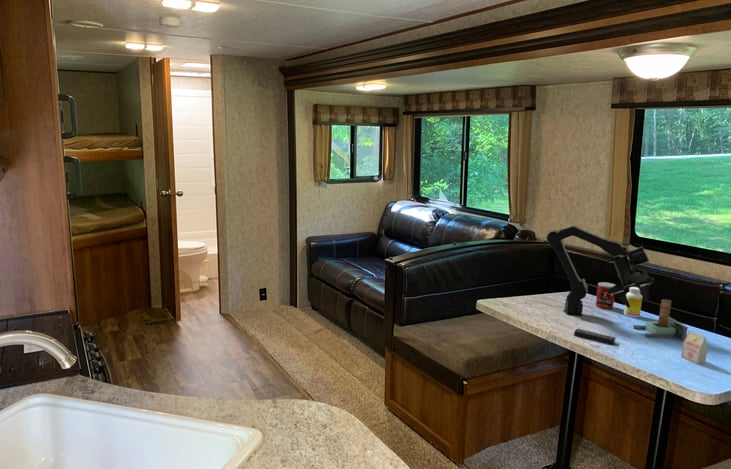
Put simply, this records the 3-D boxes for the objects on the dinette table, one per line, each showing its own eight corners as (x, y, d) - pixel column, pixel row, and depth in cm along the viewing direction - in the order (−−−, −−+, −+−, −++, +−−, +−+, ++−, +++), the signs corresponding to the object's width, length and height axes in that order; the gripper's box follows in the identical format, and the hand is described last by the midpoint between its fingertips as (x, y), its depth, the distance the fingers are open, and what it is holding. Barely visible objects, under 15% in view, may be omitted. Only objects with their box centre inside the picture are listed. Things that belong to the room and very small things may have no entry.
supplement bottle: (642, 318, 246) (646, 290, 244) (627, 317, 246) (631, 289, 244) (635, 313, 253) (639, 286, 250) (620, 313, 253) (624, 285, 250)
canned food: (594, 307, 259) (597, 284, 257) (596, 303, 266) (599, 281, 264) (612, 310, 256) (615, 287, 254) (613, 306, 263) (616, 283, 261)
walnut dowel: (660, 332, 225) (664, 301, 222) (655, 329, 228) (659, 299, 226) (668, 332, 225) (673, 302, 223) (663, 329, 228) (668, 299, 226)
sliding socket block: (655, 336, 223) (656, 328, 222) (645, 329, 230) (646, 321, 230) (674, 337, 223) (676, 329, 222) (663, 330, 231) (665, 322, 230)
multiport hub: (612, 346, 211) (613, 340, 211) (573, 336, 219) (574, 331, 219) (615, 343, 215) (615, 337, 214) (576, 333, 223) (577, 328, 222)
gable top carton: (689, 356, 204) (693, 330, 202) (704, 363, 197) (709, 337, 196) (681, 356, 203) (685, 330, 201) (696, 364, 196) (701, 337, 195)
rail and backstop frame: (649, 340, 219) (652, 325, 217) (629, 326, 234) (631, 312, 233) (685, 341, 219) (687, 327, 218) (662, 327, 235) (664, 314, 234)
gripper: (616, 270, 226) (630, 307, 222) (654, 259, 230) (670, 295, 226) (601, 276, 237) (615, 311, 233) (638, 266, 240) (652, 300, 237)
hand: (638, 304), depth 232 cm, fingers open, 9 cm apart
